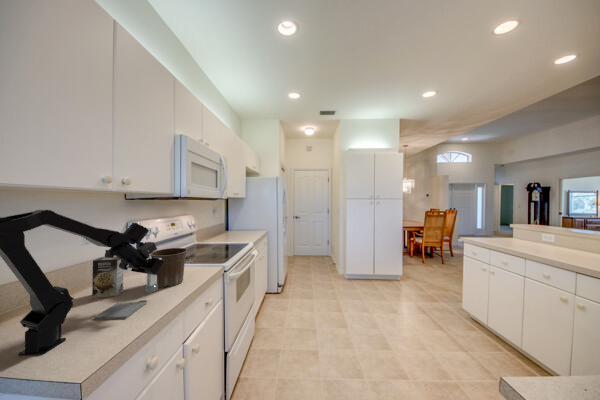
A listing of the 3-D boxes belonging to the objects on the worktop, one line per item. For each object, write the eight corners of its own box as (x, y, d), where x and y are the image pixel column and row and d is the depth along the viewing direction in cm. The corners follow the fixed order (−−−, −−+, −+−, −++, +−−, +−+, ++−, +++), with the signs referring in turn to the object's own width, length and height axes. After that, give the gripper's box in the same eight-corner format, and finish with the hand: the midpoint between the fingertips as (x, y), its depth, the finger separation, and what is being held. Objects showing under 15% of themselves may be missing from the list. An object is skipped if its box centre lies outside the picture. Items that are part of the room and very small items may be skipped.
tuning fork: (151, 292, 91) (151, 263, 91) (145, 291, 92) (145, 262, 92) (158, 289, 94) (158, 261, 94) (152, 288, 95) (152, 260, 95)
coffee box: (91, 298, 93) (91, 260, 93) (100, 292, 99) (100, 256, 100) (116, 296, 96) (116, 259, 96) (124, 290, 102) (124, 255, 102)
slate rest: (126, 318, 78) (126, 316, 78) (93, 319, 77) (93, 317, 77) (146, 303, 89) (146, 301, 89) (117, 304, 88) (117, 302, 88)
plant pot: (168, 291, 101) (168, 256, 101) (141, 287, 105) (141, 254, 105) (194, 279, 117) (194, 248, 117) (169, 276, 121) (169, 247, 121)
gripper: (160, 238, 87) (182, 259, 97) (127, 235, 92) (151, 255, 103) (140, 263, 79) (166, 283, 89) (105, 258, 85) (134, 277, 95)
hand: (155, 273), depth 94 cm, fingers closed on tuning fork, 2 cm apart
